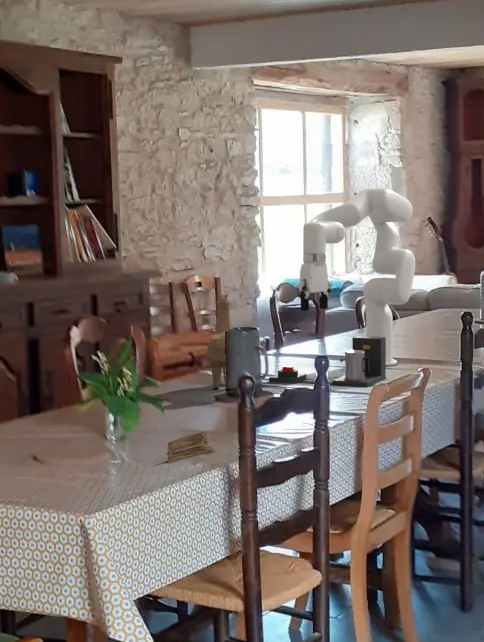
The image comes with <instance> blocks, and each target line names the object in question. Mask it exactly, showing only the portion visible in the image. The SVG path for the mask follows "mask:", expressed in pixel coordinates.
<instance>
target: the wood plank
mask: <svg viewBox="0 0 484 642" xmlns="http://www.w3.org/2000/svg"><path fill="white" fill-rule="evenodd" d="M211 452H213V447H212V446H211V445H210V444H209V440H208V436H207V430H205V431H202V432H198V433H194V434H189V435H186V436H183V437H180V438H176V439H173V440H170V441H169V442H168V443H167V453H166V455H167V459H166V460H167V463H172V462H174V461H177V460H181V459H185V458H188V457H192V456H196V455H201V454H206V453H211Z"/></svg>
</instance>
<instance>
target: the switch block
mask: <svg viewBox="0 0 484 642" xmlns="http://www.w3.org/2000/svg"><path fill="white" fill-rule="evenodd" d="M305 380H307V373H300V372H299V370H298V369H296V368H293V371H282V368H281V369H278V370H277V374H274V375H271V376H269V377H268V381H269V383H273V384H274V383H277V384H289V385H290V384H293V385H295V384H296V383H300V382H302V381H305Z"/></svg>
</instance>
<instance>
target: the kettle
mask: <svg viewBox="0 0 484 642" xmlns="http://www.w3.org/2000/svg"><path fill="white" fill-rule="evenodd" d="M365 360H366V369H365ZM339 362H340V363H343V362H344V375H345V379H348V380H363V379H365V372H369V358H368V357H365V351H362V350H353V349H350V350H349V349H348V350H345V351H344V356H342V357H341V358H340V359H339Z"/></svg>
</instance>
